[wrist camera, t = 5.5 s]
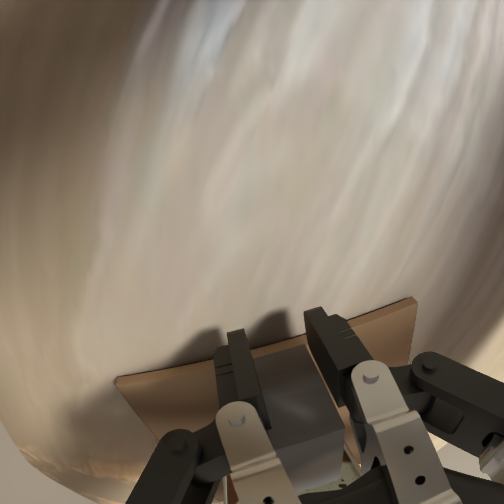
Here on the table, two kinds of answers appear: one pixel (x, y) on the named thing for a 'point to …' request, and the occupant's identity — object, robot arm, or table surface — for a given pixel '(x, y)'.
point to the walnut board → (200, 380)
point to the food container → (348, 475)
